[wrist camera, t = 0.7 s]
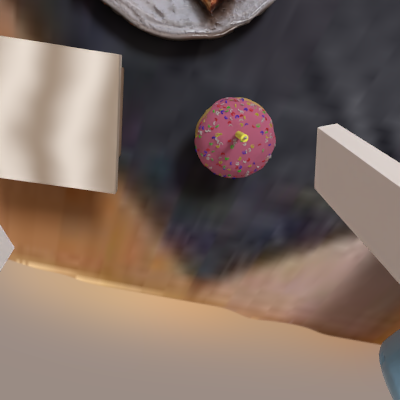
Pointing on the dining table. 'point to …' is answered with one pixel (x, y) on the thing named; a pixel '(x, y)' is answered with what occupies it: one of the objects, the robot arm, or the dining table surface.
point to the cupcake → (234, 137)
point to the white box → (60, 115)
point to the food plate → (188, 16)
